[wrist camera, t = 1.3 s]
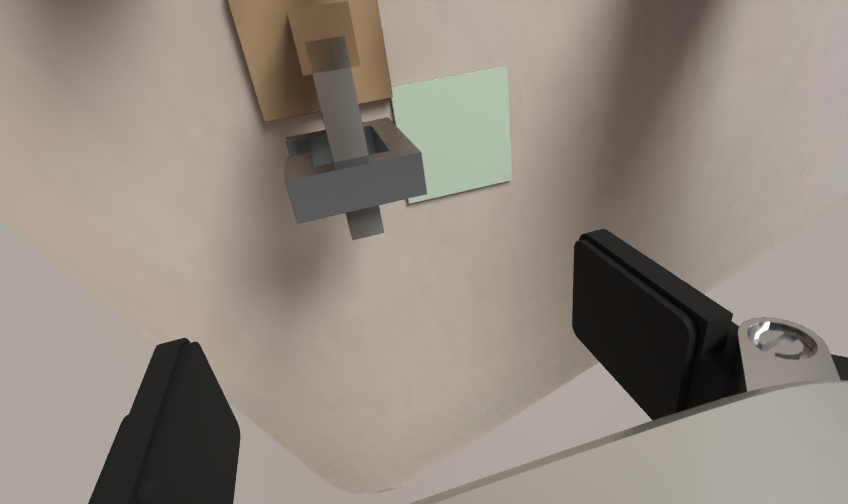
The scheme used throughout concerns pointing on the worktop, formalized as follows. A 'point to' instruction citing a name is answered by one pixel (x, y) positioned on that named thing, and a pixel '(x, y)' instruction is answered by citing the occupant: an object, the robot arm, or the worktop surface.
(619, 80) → the worktop surface
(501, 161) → the mat
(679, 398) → the robot arm
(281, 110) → the stand
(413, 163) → the link
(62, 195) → the worktop surface
